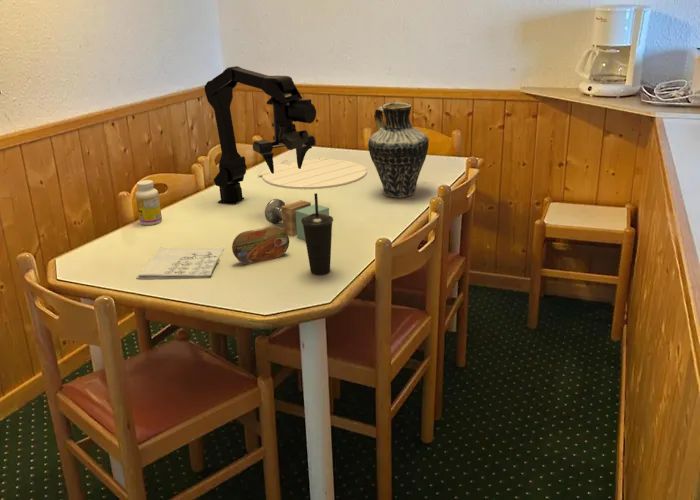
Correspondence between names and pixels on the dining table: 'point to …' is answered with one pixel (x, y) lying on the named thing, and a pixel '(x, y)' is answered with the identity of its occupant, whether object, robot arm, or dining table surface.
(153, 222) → the supplement bottle
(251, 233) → the tin
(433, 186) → the dining table surface
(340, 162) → the lazy susan
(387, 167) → the jug
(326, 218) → the drinking cup
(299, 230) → the socket block
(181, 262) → the folded printed napkin
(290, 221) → the sleeve block
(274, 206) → the metal mushroom knob
